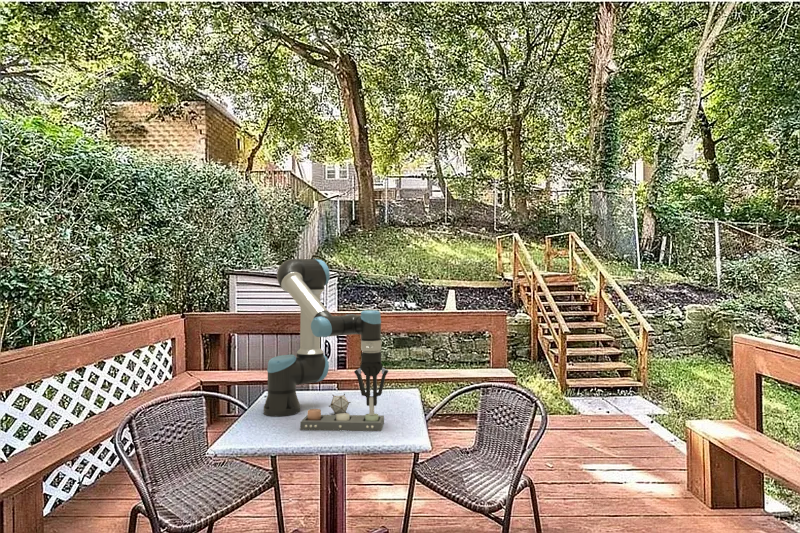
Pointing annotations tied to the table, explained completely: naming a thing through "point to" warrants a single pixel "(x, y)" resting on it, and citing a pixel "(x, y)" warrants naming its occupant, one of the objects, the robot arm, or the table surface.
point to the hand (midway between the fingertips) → (371, 414)
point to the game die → (339, 404)
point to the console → (342, 423)
